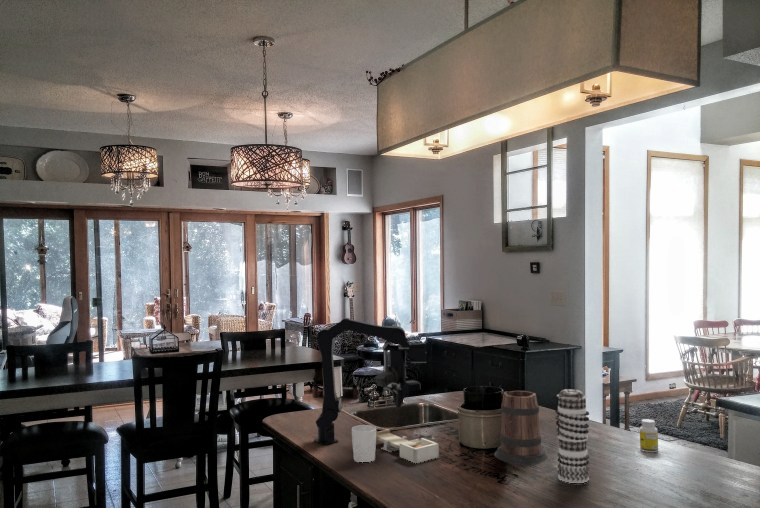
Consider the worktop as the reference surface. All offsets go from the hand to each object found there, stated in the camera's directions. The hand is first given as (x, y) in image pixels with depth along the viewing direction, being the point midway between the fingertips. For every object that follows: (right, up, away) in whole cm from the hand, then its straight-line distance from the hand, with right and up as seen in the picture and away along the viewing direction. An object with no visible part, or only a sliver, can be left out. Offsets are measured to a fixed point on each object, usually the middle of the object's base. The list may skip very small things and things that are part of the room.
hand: (398, 407), depth 205 cm
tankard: (+40, -11, -14) cm, 44 cm away
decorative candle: (+49, -11, -38) cm, 63 cm away
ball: (+6, -9, -17) cm, 21 cm away
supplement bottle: (+82, -11, -13) cm, 84 cm away
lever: (+3, -10, -5) cm, 11 cm away
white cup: (-11, -12, -19) cm, 25 cm away
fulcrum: (-1, -12, -7) cm, 14 cm away
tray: (+6, -12, -17) cm, 22 cm away
